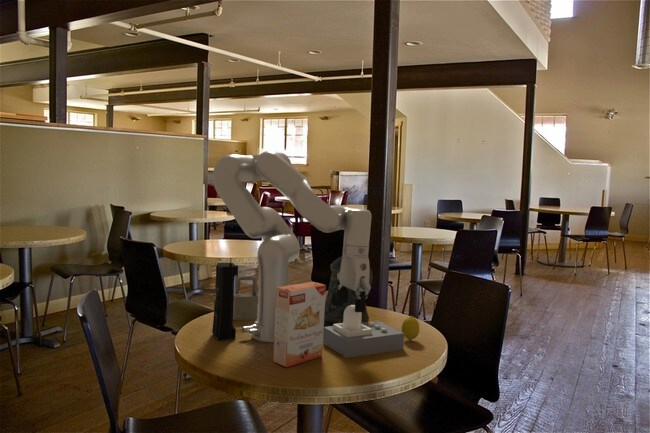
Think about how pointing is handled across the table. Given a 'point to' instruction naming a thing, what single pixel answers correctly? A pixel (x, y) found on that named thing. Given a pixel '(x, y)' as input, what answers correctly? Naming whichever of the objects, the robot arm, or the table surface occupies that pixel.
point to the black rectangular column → (224, 301)
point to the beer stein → (332, 307)
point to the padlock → (245, 301)
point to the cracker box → (299, 323)
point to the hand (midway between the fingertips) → (350, 307)
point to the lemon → (410, 328)
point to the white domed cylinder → (352, 319)
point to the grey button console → (363, 339)
